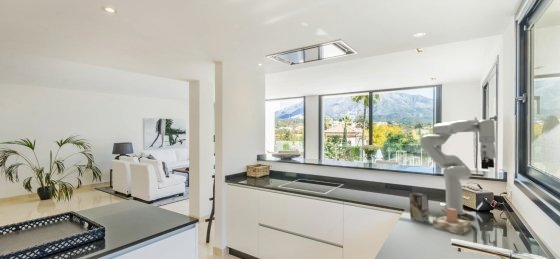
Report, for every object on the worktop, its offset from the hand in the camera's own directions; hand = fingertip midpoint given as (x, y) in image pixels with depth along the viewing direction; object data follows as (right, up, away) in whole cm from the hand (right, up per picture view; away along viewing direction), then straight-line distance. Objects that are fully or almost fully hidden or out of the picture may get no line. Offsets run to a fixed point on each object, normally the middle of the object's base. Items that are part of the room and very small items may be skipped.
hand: (487, 168), depth 154 cm
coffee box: (-37, -34, +8) cm, 51 cm away
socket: (-27, -34, -7) cm, 43 cm away
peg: (-26, -34, -7) cm, 43 cm away
